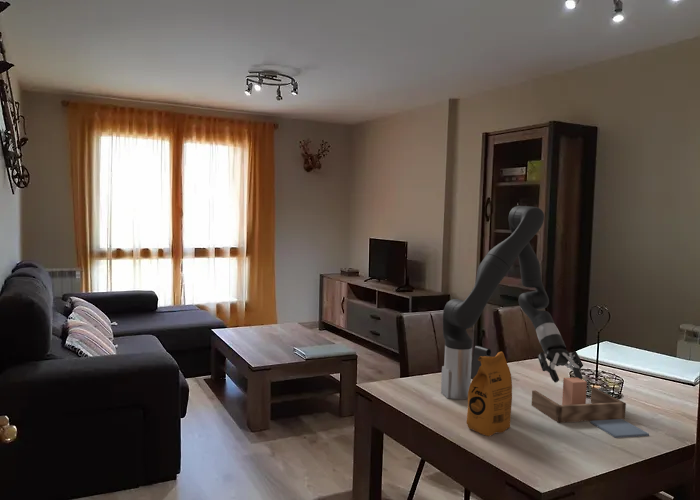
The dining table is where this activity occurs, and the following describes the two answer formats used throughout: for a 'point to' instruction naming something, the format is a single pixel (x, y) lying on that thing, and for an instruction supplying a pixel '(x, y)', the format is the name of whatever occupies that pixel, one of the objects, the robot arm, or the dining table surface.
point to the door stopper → (475, 362)
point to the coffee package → (490, 396)
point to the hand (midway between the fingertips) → (568, 380)
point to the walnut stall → (581, 408)
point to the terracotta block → (574, 391)
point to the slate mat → (619, 428)
